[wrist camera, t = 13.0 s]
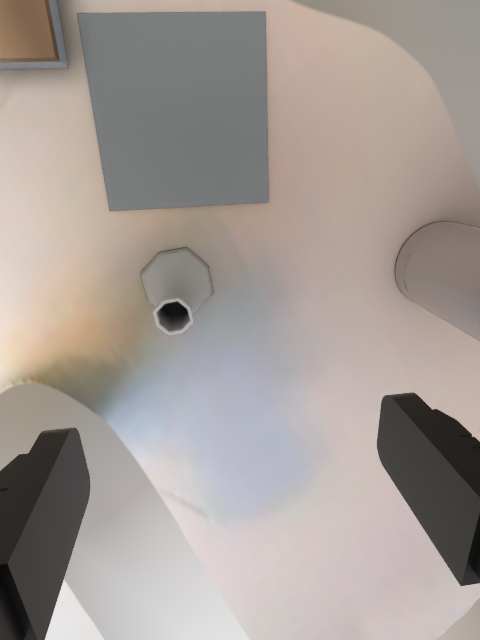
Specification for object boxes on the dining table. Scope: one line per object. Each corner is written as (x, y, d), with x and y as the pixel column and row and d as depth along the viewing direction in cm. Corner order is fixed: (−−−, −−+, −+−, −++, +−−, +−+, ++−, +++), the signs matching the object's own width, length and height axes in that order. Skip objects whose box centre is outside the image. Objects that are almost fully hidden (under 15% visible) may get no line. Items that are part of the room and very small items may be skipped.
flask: (127, 269, 38) (107, 301, 29) (190, 234, 38) (189, 255, 28) (166, 327, 41) (158, 372, 32) (225, 295, 40) (235, 332, 31)
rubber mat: (264, 14, 32) (265, 11, 31) (267, 201, 37) (268, 202, 37) (78, 16, 30) (76, 13, 30) (110, 210, 36) (109, 211, 35)
